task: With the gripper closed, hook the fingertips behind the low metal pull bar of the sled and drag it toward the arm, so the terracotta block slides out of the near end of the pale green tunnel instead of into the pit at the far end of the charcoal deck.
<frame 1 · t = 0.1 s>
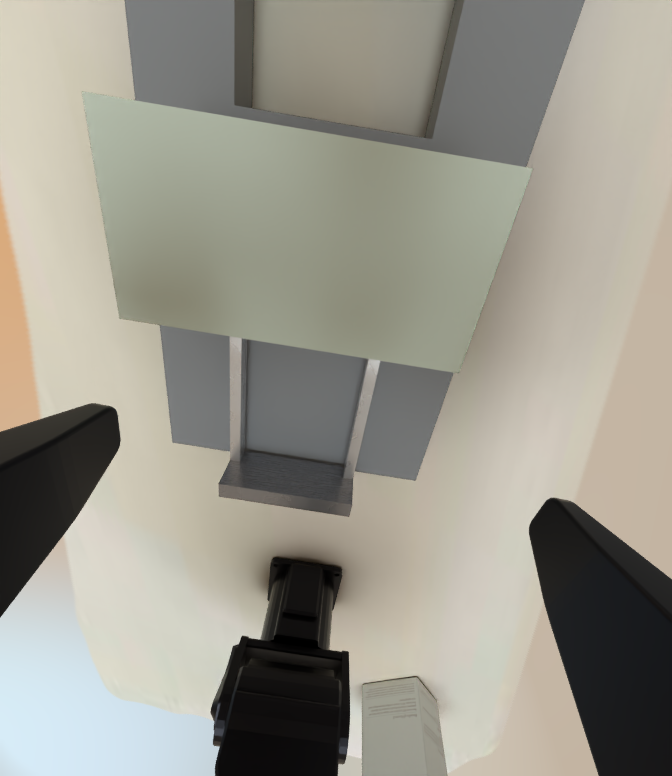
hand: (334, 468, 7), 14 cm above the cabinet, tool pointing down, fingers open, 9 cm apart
supplement box: (399, 690, 44), on the cabinet
metal sled: (303, 359, 17), point 4 cm above the cabinet, slide at 0.0 cm
charcoal deck: (323, 245, 19), on the cabinet
pale green tunnel: (326, 225, 18), resting on charcoal deck
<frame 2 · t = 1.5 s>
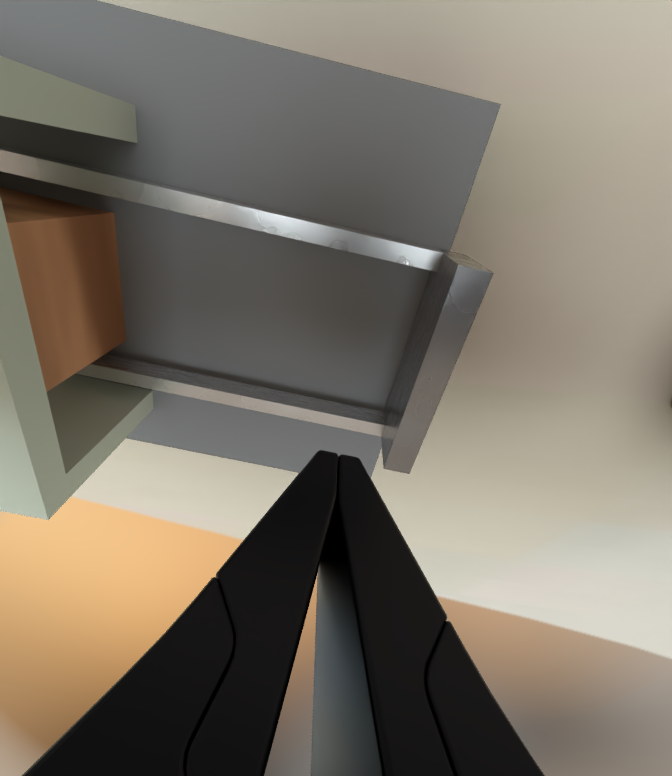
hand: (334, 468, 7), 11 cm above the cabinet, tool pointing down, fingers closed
metal sled: (196, 317, 13), point 4 cm above the cabinet, slide at 0.0 cm
charcoal deck: (131, 264, 16), on the cabinet
terracotta block: (69, 270, 14), point 2 cm above the cabinet, touching charcoal deck
pale green tunnel: (108, 259, 16), resting on charcoal deck
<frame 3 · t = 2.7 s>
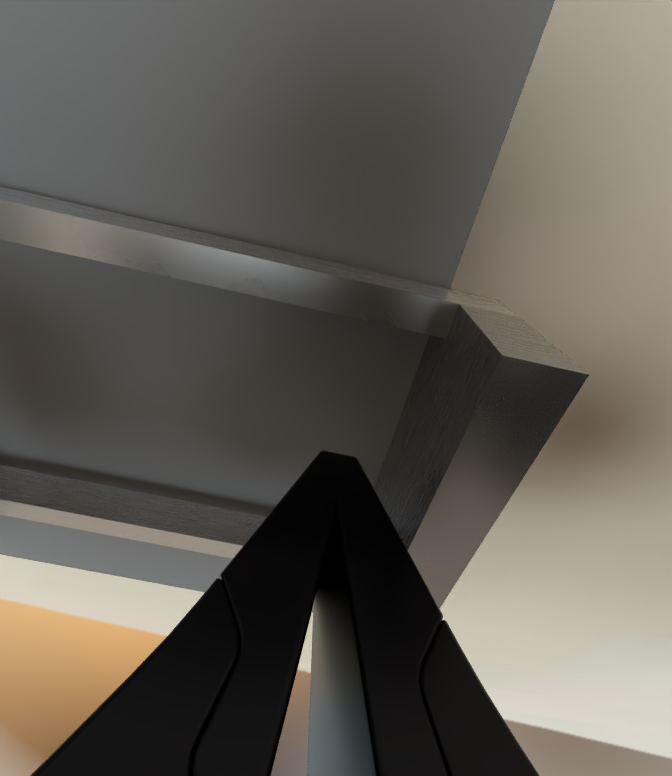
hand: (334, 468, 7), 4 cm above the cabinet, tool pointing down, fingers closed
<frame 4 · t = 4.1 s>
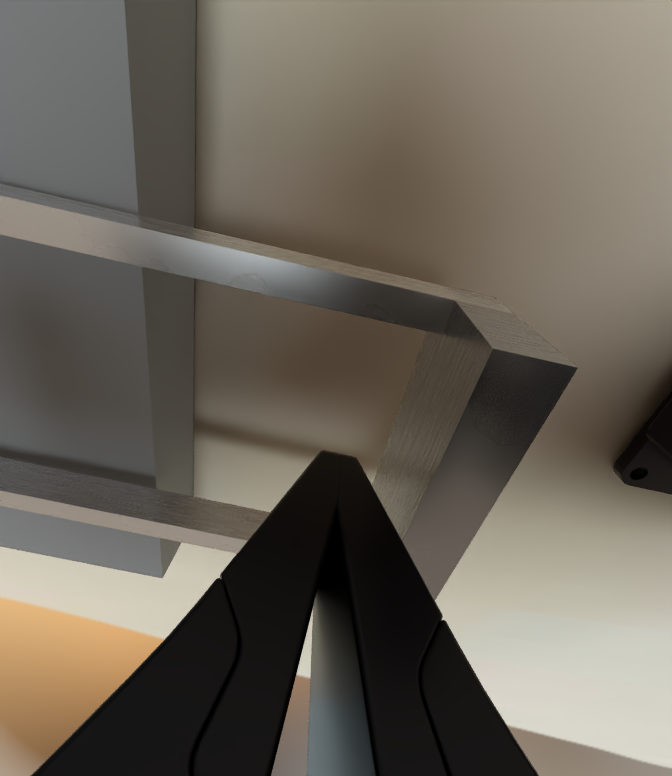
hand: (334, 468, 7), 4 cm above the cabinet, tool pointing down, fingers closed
metal sled: (1, 407, 7), point 4 cm above the cabinet, slide at 6.4 cm, touching gripper, terracotta block
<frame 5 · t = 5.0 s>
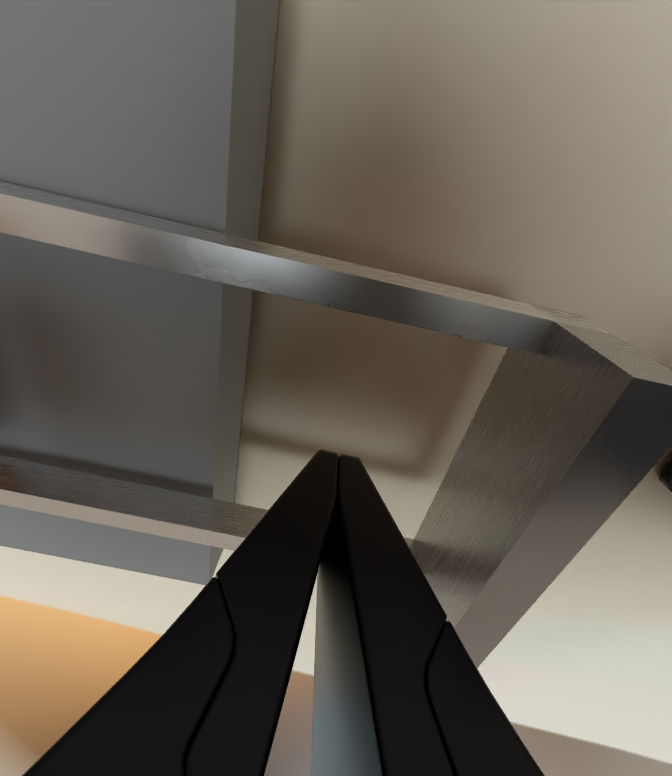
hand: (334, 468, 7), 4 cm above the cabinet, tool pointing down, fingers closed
metal sled: (89, 423, 7), point 4 cm above the cabinet, slide at 6.4 cm, touching terracotta block
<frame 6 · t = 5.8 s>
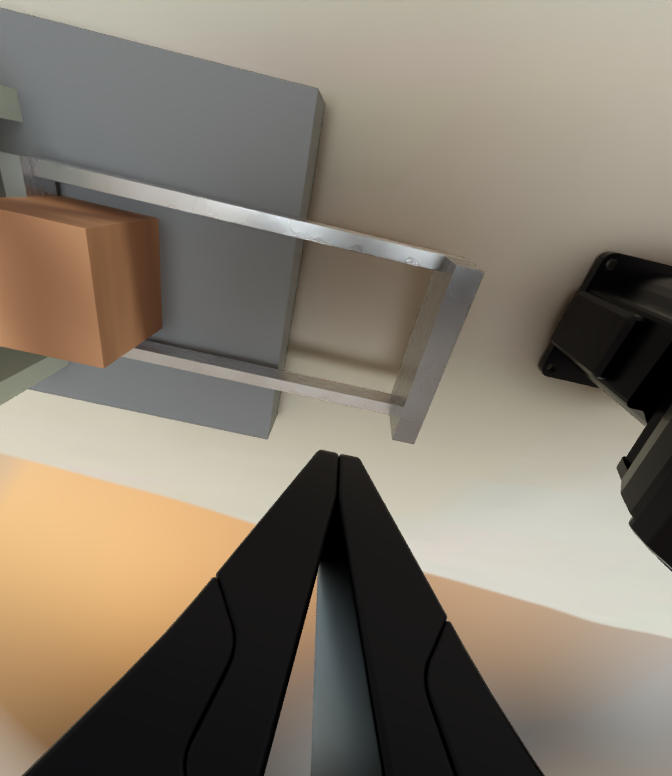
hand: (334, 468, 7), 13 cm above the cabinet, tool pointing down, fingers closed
metal sled: (234, 308, 15), point 4 cm above the cabinet, slide at 6.4 cm, touching terracotta block
charcoal deck: (45, 235, 18), on the cabinet
terracotta block: (116, 267, 16), point 2 cm above the cabinet, touching charcoal deck, metal sled
pale green tunnel: (25, 230, 18), resting on charcoal deck
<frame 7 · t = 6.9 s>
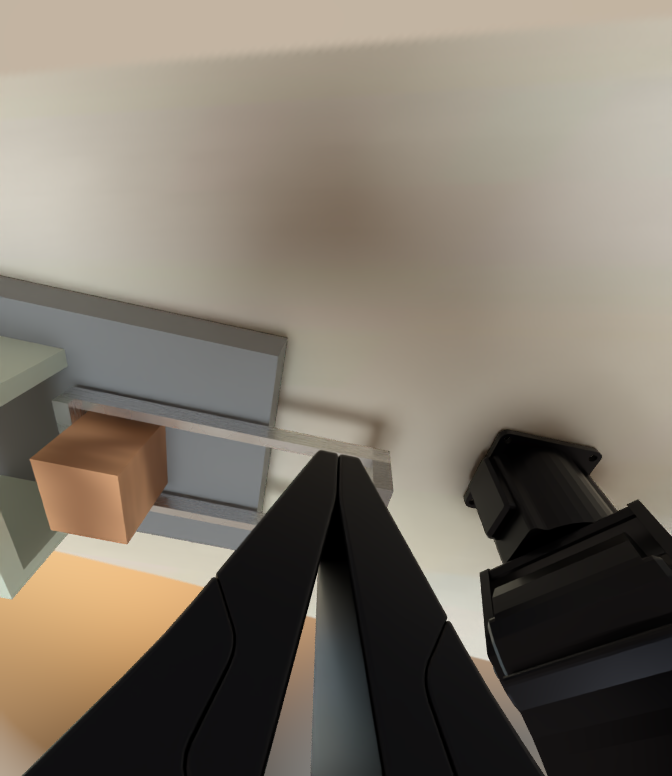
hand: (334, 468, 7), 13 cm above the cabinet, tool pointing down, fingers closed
metal sled: (221, 488, 20), point 4 cm above the cabinet, slide at 6.4 cm, touching terracotta block
charcoal deck: (76, 407, 23), on the cabinet
terracotta block: (133, 446, 21), point 2 cm above the cabinet, touching charcoal deck, metal sled
pale green tunnel: (61, 404, 23), resting on charcoal deck
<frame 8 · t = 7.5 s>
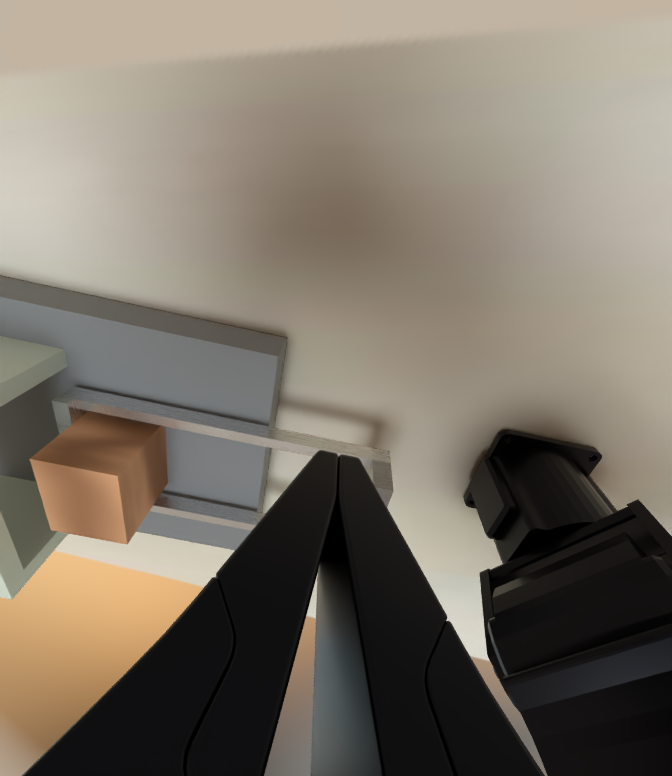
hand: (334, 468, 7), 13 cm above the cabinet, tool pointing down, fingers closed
metal sled: (221, 488, 20), point 4 cm above the cabinet, slide at 6.4 cm, touching terracotta block
charcoal deck: (76, 407, 23), on the cabinet
terracotta block: (133, 446, 21), point 2 cm above the cabinet, touching charcoal deck, metal sled
pale green tunnel: (61, 404, 23), resting on charcoal deck
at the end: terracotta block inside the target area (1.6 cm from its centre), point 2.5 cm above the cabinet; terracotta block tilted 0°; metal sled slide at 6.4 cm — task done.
